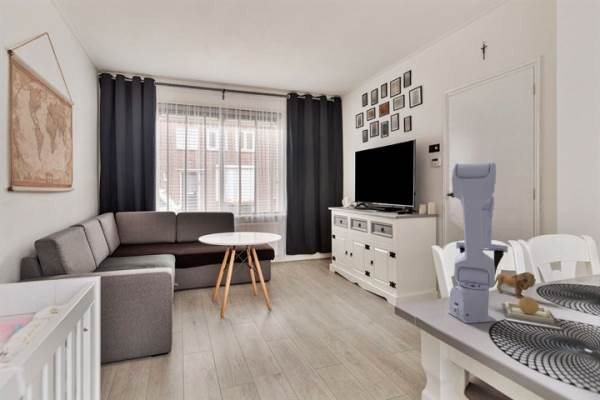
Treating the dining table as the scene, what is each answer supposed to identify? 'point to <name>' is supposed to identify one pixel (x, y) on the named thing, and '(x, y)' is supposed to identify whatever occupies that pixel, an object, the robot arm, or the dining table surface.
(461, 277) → the robot arm
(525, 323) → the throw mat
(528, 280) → the lion figurine
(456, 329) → the dining table surface
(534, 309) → the ball
